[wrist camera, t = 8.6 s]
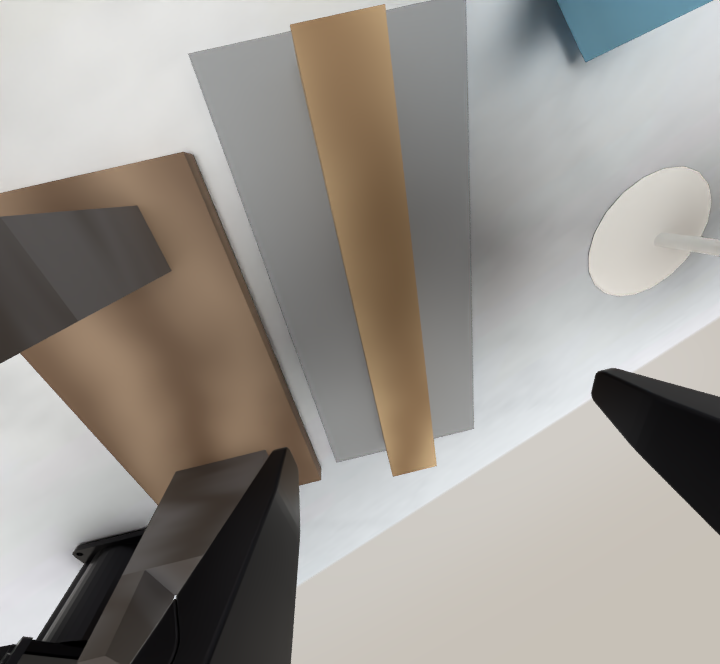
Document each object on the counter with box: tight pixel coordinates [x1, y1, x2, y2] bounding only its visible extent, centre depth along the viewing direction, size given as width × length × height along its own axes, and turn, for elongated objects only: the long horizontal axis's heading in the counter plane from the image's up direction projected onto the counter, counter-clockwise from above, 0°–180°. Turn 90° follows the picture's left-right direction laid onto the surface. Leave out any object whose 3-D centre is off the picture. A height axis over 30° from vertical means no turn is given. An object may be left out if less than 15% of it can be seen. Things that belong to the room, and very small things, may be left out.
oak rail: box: [290, 4, 437, 477], centre depth 15 cm, size 3×22×3 cm, turn 11°
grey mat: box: [188, 0, 474, 462], centre depth 17 cm, size 11×24×1 cm, turn 12°
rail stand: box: [0, 152, 321, 664], centre depth 13 cm, size 12×22×10 cm, turn 12°
